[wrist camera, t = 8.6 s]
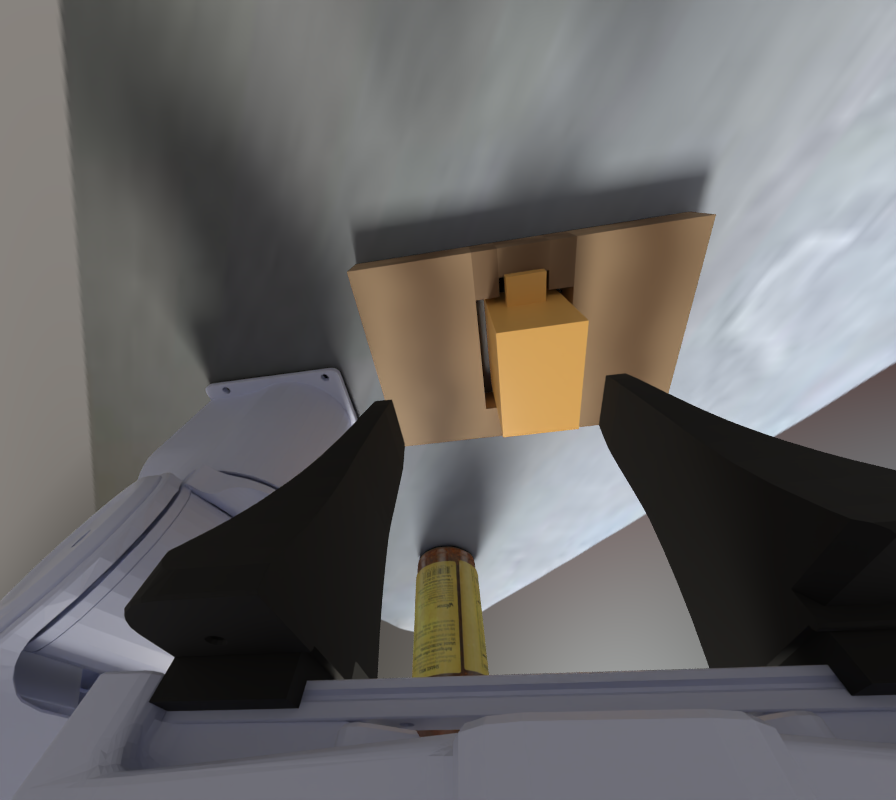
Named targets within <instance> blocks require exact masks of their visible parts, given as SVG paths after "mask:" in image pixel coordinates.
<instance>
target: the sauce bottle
mask: <svg viewBox="0 0 896 800" xmlns="http://www.w3.org/2000/svg"><path fill="white" fill-rule="evenodd" d="M478 675H489V672H488V663H487V655H486V646H485V637H484V628H483V618H482V609H481V601H480V591H479V582H478V574H477V571H476V569H475V563H474V559H473V557H472V555H471V554H470V553H468V552H466V551H464V550H461V549H459V548H456V547H448V546H445V547H437V548H434V549H431V550H430V551H427V552H425V554H423V555H422V556H421V558H420V560H419V563H418V574H417V577H416V597H415V625H414V648H413V673H412V678H413V677H446V676H478ZM415 731H417V733H418V734H419V736H420V737H427V736H435V735H444V734H453V733H458V732H459V731H460V730H415Z"/></svg>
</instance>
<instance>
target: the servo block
mask: <svg viewBox="0 0 896 800" xmlns="http://www.w3.org/2000/svg"><path fill="white" fill-rule="evenodd" d="M546 275H547V271H546V270H545V269H544V268H543V269H537V270H530V271H524V272H517V273H511V274H504V292H501V293H500V297H496V298H489V299H484V308H485V320H486V331H487V343H488V354H489V366H490V378H491V385H492V389H493V394H494V398H495V402H496V407H497V411H498V416H499V420H500V425H501V429H502V434H503V437H510V436H519V435H528V434H537V433H546V432H555V431H563V430H572V429H579V420H580V410H581V399H582V388H583V378H584V367H585V356H586V346H587V335H588V325H589V320H588V319H587V318H586V317H585V316H584V315H583V314H581V313H580V312H579V311H578V310H577V309H576V308H575V307H574V306H573V305H572V304H571V303H570V302H569V301H568V300H567V299H566V298H565V297H564V296H563V295H562V294H561V293H559V292H558V291H557V290H556V289H552V290H549V289H548V288H547V287H546Z"/></svg>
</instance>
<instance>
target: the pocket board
mask: <svg viewBox="0 0 896 800" xmlns="http://www.w3.org/2000/svg"><path fill="white" fill-rule="evenodd" d="M715 216H716V214H707V213H697V212H685V213H678V214H672V215H666V216H659V217H653V218H647V219H640V220H634V221H627V222H621V223H615V224H608V225H602V226H596V227H589V228H583V229H577V230H570V231H564V232H558V233H551V234H545V235H539V236H532V237H526V238H519V239H513V240H507V241H500V242H494V243H488V244H481V245H475V246H469V247H462V248H456V249H450V250H443V251H437V252H431V253H424V254H418V255H411V256H405V257H399V258H392V259H386V260H380V261H373V262H367V263H361V264H356V265H355V266H353V267H352V268H351V269H350V270H349V271H347V274H348V277H349V281H350V284H351V287H352V291H353V294H354V297H355V301H356V304H357V307H358V311H359V314H360V317H361V321H362V324H363V328H364V331H365V334H366V338H367V341H368V344H369V348H370V351H371V354H372V358H373V361H374V364H375V368H376V371H377V374H378V378H379V381H380V384H381V388H382V391H383V394H384V398H385V400H392V401H393V404H394V408H395V411H396V415H397V418H398V422H399V425H400V428H401V432H402V435H403V439H404V442H405V446H413V445H422V444H431V443H440V442H449V441H458V440H467V439H476V438H485V437H494V436H503V434H502V429H501V425H500V420H499V416H498V411H497V407H496V402H495V398H494V394H493V392H488V393H485V392H484V382H483V372H482V362H481V351H480V341H479V331H478V321H477V311H476V300H482V299H489V298H496V297H500V293H499V278H500V277H504V274H511V273H517V272H524V271H530V270H537V269H543V268H544V269H545V270H546V271H547V275H546V287H547V288H548V289H549V290H552V289H559V288H562V295H563V296H564V297H565V298H566V299H567V300H568V301H569V302H570V303H571V304H572V305H573V306H574V307H575V308H576V309H577V310H578V311H579V312H580V313H581V314H583V315H584V316H585V317H586V318H587V319H588V320H589V325H588V335H587V346H586V356H585V367H584V378H583V388H582V399H581V410H580V420H579V427H584V426H593V425H599V420H600V413H601V406H602V399H603V392H604V385H605V378H606V375H614V374H623V373H626V374H629V375H631V376H633V377H636V378H638V379H640V380H642V381H644V382H646V383H648V384H650V385H652V386H654V387H656V388H658V389H660V390H662V391H664V392H666V393H669V389H670V385H671V381H672V378H673V374H674V370H675V366H676V363H677V359H678V355H679V351H680V348H681V344H682V340H683V336H684V333H685V329H686V325H687V321H688V318H689V314H690V310H691V306H692V303H693V299H694V295H695V291H696V288H697V284H698V280H699V276H700V273H701V269H702V265H703V261H704V258H705V254H706V250H707V246H708V243H709V239H710V235H711V231H712V228H713V224H714V220H715Z"/></svg>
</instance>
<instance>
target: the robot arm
mask: <svg viewBox="0 0 896 800" xmlns="http://www.w3.org/2000/svg"><path fill="white" fill-rule="evenodd" d="M323 374H326V375H327V376H328V377H329V378H325V377H324V376H323ZM226 387H227V388H229V389H230V391H229V390H228V389H227V388H226ZM206 393H207V394H208V396H209V397H210V399H211V401H210V402H209V403H208V404H207V405H205V406H204V407H203V408H202V409H201V410H200V411H199V412H198V413H197V414H195V415H194V416H193V417H192V418H191V419H190V420H189V421H188V422H187V423H185V424H184V425H183V426H182V427H181V428H180V429H179V430H178V431H177V432H176V433H174V434H173V435H172V436H171V437H170V438H169V439H168V440H167V441H166V442H164V443H163V444H162V445H161V446H160V447H159V448H158V449H157V450H156V451H155V452H154V453H153V454H152V455H151V456H150V457H149V458H148V460H147V461H146V462H145V464H144V466H143V468H142V470H141V472H140V474H139V477H138V480H137V481H136V482H134V483H133V484H131V485H130V486H129V487H127V488H126V489H124V490H123V491H122V492H121V493H119V494H118V495H117V496H115V497H114V498H113V499H112V500H110V501H109V502H108V503H107V504H106V505H104V506H103V507H102V508H101V509H99V510H98V511H97V512H96V513H95V514H93V515H92V516H91V517H90V518H89V519H88V520H86V521H85V522H84V523H83V524H82V525H81V526H80V527H78V528H77V529H76V530H75V531H74V532H73V533H71V534H70V535H69V536H68V537H67V538H66V539H65V540H64V541H62V542H61V543H60V544H59V545H58V546H57V547H56V548H55V549H53V551H52V552H50V553H49V554H48V555H47V556H46V557H45V558H44V559H43V560H41V561H40V562H39V563H38V564H37V565H36V566H35V567H34V568H33V569H32V570H31V571H30V572H29V573H28V574H27V575H26V576H25V577H23V578H22V579H21V580H20V581H19V582H18V583H17V584H16V585H15V586H14V588H12V589H11V590H10V591H9V592H8V593H7V594H6V595H5V597H4V598H3V599H2V600H1V601H0V800H896V470H892V469H888V468H884V467H880V466H876V465H871V464H867V463H863V462H859V461H854V460H851V459H847V458H843V457H839V456H836V455H832V454H828V453H824V452H821V451H817V450H814V449H811V448H807V447H804V446H800V445H797V444H794V443H791V442H787V441H784V440H781V439H778V438H775V437H772V436H769V435H766V434H763V433H760V432H758V431H755V430H752V429H749V428H746V427H744V426H741V425H738V424H736V423H733V422H731V421H728V420H726V419H723V418H721V417H718V416H716V415H714V414H711V413H709V412H707V411H704V410H702V409H700V408H698V407H696V406H693V405H691V404H689V403H687V402H685V401H683V400H681V399H679V398H676V397H674V396H672V395H670V394H668V393H666V392H664V391H662V390H660V389H658V388H656V387H654V386H652V385H650V384H648V383H646V382H644V381H642V380H640V379H638V378H636V377H633V376H631V375H629V374H626V373H623V374H614V375H606V378H605V385H604V392H603V399H602V406H601V413H600V420H599V426H600V429H601V431H602V434H603V436H604V439H605V441H606V444H607V446H608V448H609V450H610V452H611V454H612V456H613V457H614V459H615V461H616V463H617V464H618V466H619V468H620V469H621V471H622V473H623V474H624V476H625V478H626V479H627V481H628V483H629V484H630V486H631V488H632V489H633V491H634V493H635V494H636V496H637V498H638V499H639V501H640V503H641V505H642V506H643V508H644V510H645V512H646V514H647V516H648V517H649V519H650V521H651V523H652V526H653V528H654V530H655V532H656V534H657V537H658V539H659V541H660V543H661V545H662V548H663V550H664V552H665V555H666V557H667V559H668V562H669V564H670V566H671V569H672V571H673V573H674V576H675V578H676V580H677V583H678V585H679V588H680V590H681V593H682V595H683V598H684V601H685V603H686V606H687V608H688V611H689V613H690V616H691V618H692V621H693V623H694V626H695V629H696V632H697V635H698V637H699V640H700V643H701V646H702V648H703V651H704V654H705V657H706V659H707V662H708V665H709V668H706V669H675V670H674V669H673V670H641V671H608V672H577V673H543V674H511V675H478V676H446V677H413V678H382V679H377V674H378V655H379V636H380V622H381V608H382V595H383V584H384V574H385V564H386V555H387V546H388V537H389V532H390V526H391V521H392V517H393V512H394V508H395V503H396V499H397V494H398V490H399V485H400V480H401V476H402V471H403V462H404V449H405V442H404V439H403V435H402V432H401V428H400V425H399V422H398V418H397V415H396V411H395V408H394V404H393V401H392V400H383V401H375V402H374V403H373V404H372V405H371V406H370V407H369V408H368V409H367V410H366V411H365V412H364V413H363V414H362V415H361V416H360V418H359V419H357V416H356V414H355V411H354V408H353V405H352V403H351V400H350V397H349V395H348V392H347V389H346V386H345V384H344V381H343V378H342V376H341V373H340V371H339V370H337V369H336V368H325V369H318V370H310V371H303V372H295V373H288V374H280V375H273V376H265V377H258V378H250V379H242V380H235V381H227V382H220V383H212V384H210V385H208V386H207V387H206ZM415 730H460V731H459V732H458V733H453V734H444V735H435V736H427V737H420V736H419V734H418V733H417V731H415Z"/></svg>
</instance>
